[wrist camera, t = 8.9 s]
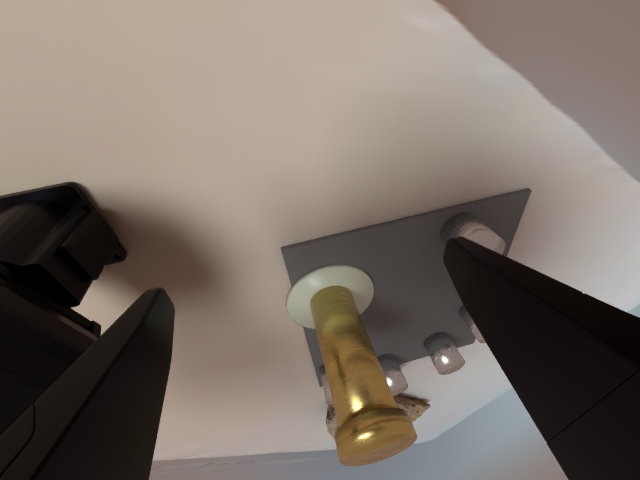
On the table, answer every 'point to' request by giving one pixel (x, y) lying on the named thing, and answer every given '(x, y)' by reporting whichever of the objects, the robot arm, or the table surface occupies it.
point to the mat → (405, 274)
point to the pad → (324, 278)
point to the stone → (410, 405)
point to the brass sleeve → (357, 383)
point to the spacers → (440, 342)
